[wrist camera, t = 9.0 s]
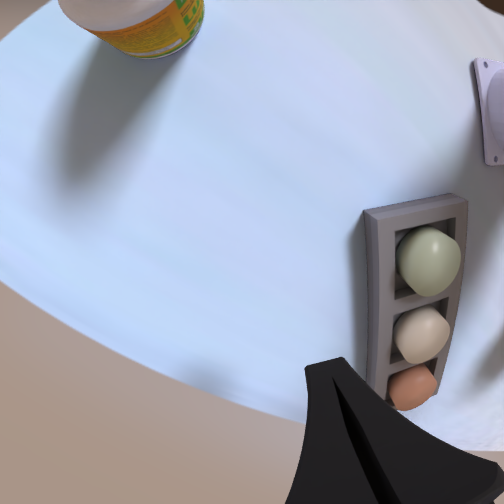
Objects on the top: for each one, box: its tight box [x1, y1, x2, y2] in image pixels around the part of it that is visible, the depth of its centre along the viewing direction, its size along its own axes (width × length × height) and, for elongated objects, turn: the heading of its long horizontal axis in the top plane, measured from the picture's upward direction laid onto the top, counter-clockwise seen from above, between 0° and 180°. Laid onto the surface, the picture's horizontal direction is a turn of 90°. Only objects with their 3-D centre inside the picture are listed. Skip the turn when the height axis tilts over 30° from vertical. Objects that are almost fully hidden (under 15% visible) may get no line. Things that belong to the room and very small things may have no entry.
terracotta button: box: [387, 363, 437, 411], centre depth 22 cm, size 4×4×2 cm
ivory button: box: [393, 304, 450, 364], centre depth 20 cm, size 4×4×2 cm
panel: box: [364, 193, 468, 410], centre depth 21 cm, size 7×19×2 cm, turn 12°
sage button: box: [395, 225, 461, 297], centre depth 18 cm, size 4×4×2 cm
